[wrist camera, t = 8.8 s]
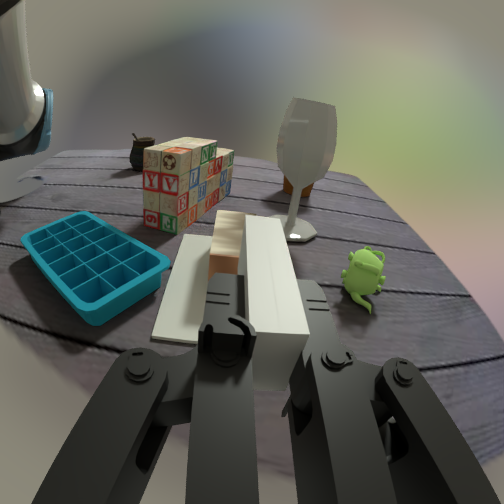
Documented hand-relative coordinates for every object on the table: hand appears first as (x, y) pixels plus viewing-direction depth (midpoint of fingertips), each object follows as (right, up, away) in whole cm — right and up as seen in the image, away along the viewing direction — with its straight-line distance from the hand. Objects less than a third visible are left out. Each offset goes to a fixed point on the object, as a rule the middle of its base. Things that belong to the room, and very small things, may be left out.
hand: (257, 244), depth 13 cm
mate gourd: (-28, +21, +55) cm, 65 cm away
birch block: (-2, -3, +16) cm, 16 cm away
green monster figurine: (+13, -6, +22) cm, 26 cm away
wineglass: (+6, +3, +34) cm, 35 cm away
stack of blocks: (-11, +7, +38) cm, 40 cm away
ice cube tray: (-20, -3, +18) cm, 27 cm away
